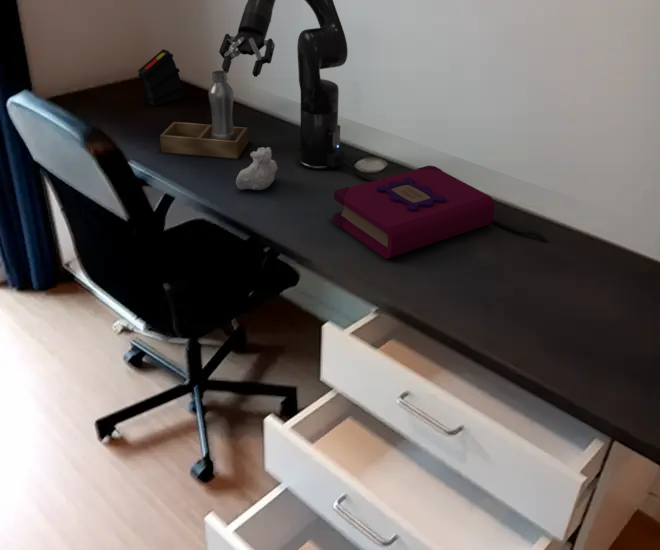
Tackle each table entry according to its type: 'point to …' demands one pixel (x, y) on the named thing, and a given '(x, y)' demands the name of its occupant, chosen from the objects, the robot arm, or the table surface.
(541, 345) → the table surface
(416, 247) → the book
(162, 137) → the brown open rectangular box
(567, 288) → the table surface
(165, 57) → the magazine
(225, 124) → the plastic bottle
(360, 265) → the table surface
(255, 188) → the bust
